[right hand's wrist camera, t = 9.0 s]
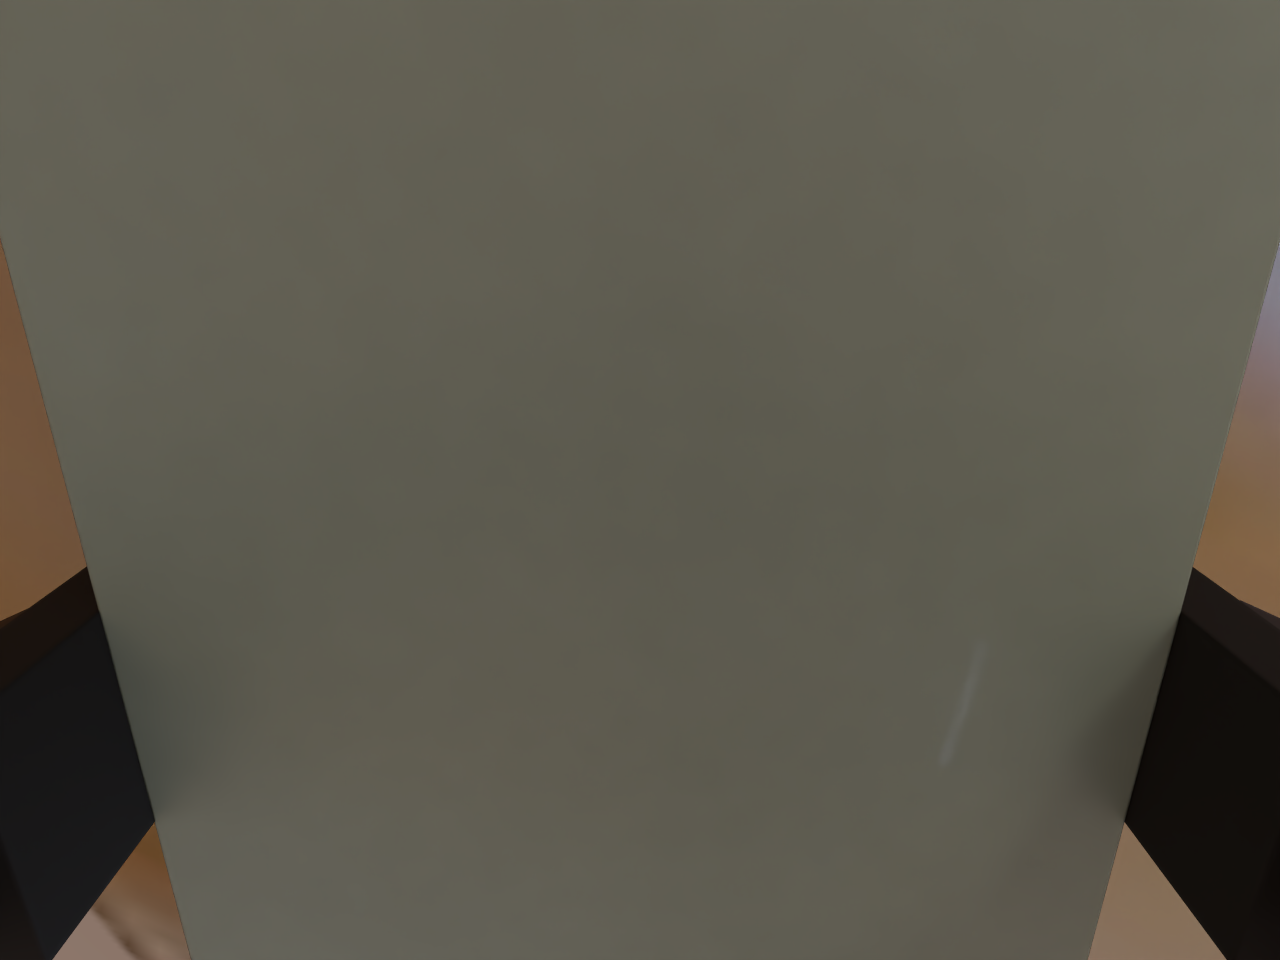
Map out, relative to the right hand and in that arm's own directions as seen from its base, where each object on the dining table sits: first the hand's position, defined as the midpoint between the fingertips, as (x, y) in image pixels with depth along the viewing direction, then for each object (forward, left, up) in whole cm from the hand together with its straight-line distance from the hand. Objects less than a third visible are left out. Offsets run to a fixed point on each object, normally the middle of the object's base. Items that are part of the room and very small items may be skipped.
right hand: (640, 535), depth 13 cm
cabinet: (+4, +2, -6) cm, 7 cm away
